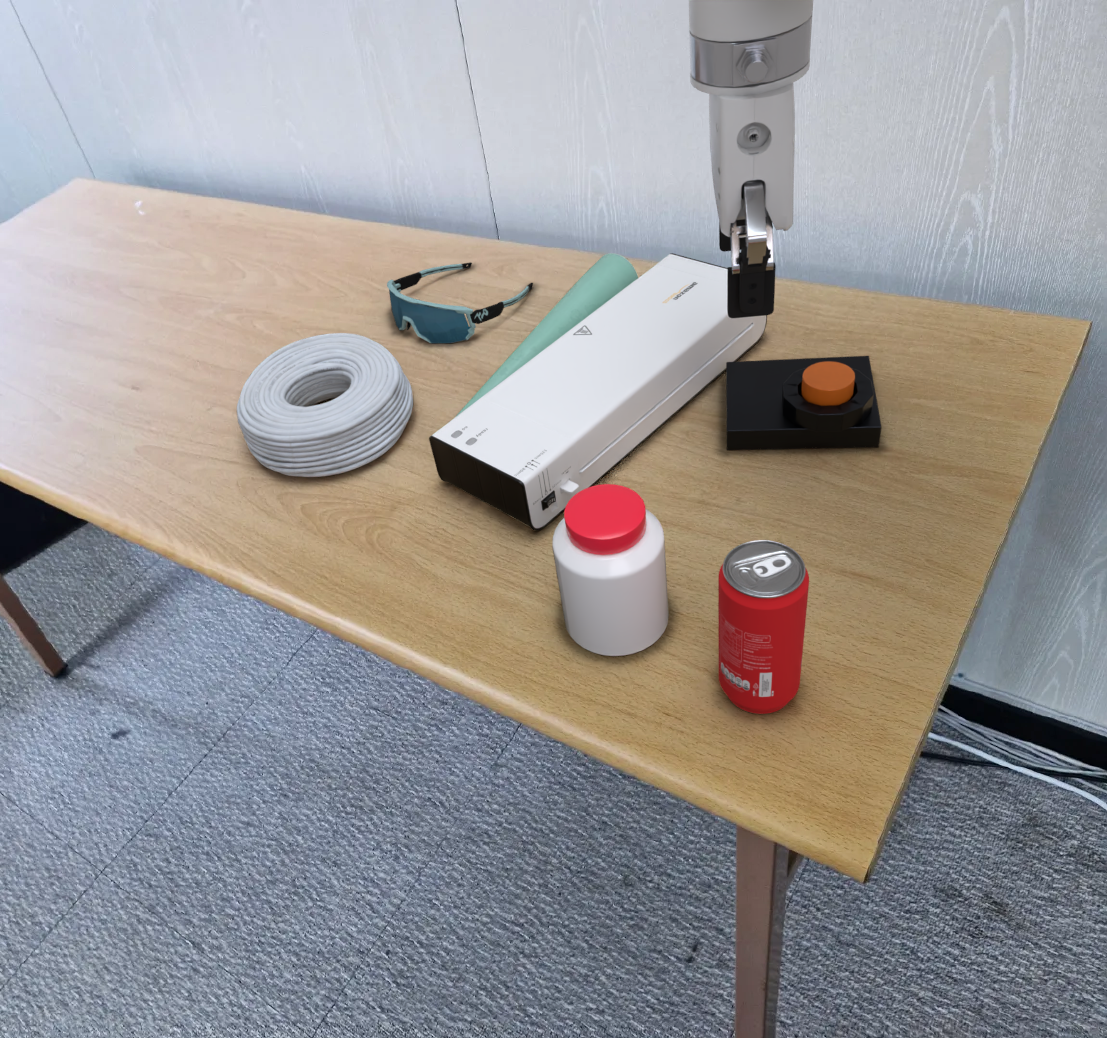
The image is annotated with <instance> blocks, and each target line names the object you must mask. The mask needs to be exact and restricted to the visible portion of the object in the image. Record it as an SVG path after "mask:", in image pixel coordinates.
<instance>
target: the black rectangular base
mask: <svg viewBox="0 0 1107 1038" xmlns="http://www.w3.org/2000/svg"><path fill="white" fill-rule="evenodd" d="M827 361H831V362H839V363H842V364H845V365H847V366H849V367H850V368H851V369H852V370H853V371H854V373H855V382H854V390H853V395H852V397H851V399H850V400H849V401H847V402H845V403H843V404H840V405H833V406H820V405H817V404H813V403H810V402H807V401H806V400H805V399H804V398H803V396H802V393H801V390H802V376H803V372H804V371H805V369H806V368H808V367H809V366H811V365H813V364H816V363H819V362H827ZM725 405H726V406H725V407H726V408H725V411H726V413H725V414H726V415H725V418H726V419H725V420H726V421H725V423H726V425H725V428H726V430H725V431H726V433H725V434H726V439H725V440H726V441H725V442H726V443H725V444H726V451H754V450H755V451H758V450H761V451H762V450H805V449H806V450H810V449H811V450H812V449H814V450H815V449H858V448H859V449H862V448H863V449H864V448H865V449H866V448H879V447H880V441H881V433H882V422H881V417H880V411H879V405H878V399H877V393H876V388H875V383H874V377H873V371H872V364H871V359H870V356H869V355H850V356H849V355H848V356H832V357H831V356H830V357H829V356H828V357H805V358H787V359H786V358H785V359H765V360H764V359H762V360H743V361H742V360H741V361H740V360H739V361H738V360H737V361H736V362H727V363H726V370H725Z"/></svg>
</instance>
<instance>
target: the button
mask: <svg viewBox="0 0 1107 1038" xmlns="http://www.w3.org/2000/svg"><path fill="white" fill-rule="evenodd" d="M854 382H855V373H854V371H853V370H852V369H851V368H850V367H849V366H847V365H845V364H842V363H839V362H831V361H827V362H819V363H816V364H813V365H811V366H809V367H808V368H806V369H805V371H804V372H803V376H802V390H801V393H802V396H803V398H804V399H805V400H806V401H807V402H810V403H813V404H817V405H820V406H833V405H840V404H843V403H845V402H847V401H849V400H850V399H851V397H852V395H853V390H854Z"/></svg>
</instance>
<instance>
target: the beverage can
mask: <svg viewBox="0 0 1107 1038" xmlns="http://www.w3.org/2000/svg"><path fill="white" fill-rule="evenodd" d="M717 582H718V586H717V587H718V596H717V597H718V598H717V601H718V605H717V606H718V632H717V633H718V637H717V638H718V639H717V640H718V641H717V642H718V653H717V654H718V661H717V662H718V670H717V671H718V682H719V685H720V688H721V689H722V691H723V692H724V694H725V695H726V696H727V699H728V700H729V701H730V702H731V703H732V705H734V706H735V707H736V708H738V709H740V710H741V711H743V712H745V713H749V714H753V715H770V714H774V713H777V712H779V711H781V710H783V709H784V708H786V706H788V704H789V703H790V701H791V700H793V699H794V698H795V697H796V695H797V693H798V691H799V689H800V684H801V677H802V675H801V674H802V664H803V655H804V654H803V652H804V645H805V644H804V642H805V633H806V620H807V612H808V611H807V609H808V599H809V587H810V576H809V572H808V570H807V567H806V564H805V561H804V559H803V558H802V556H801V555H800V554H799V553H798V552H797V550H795V549H794V548H792V547H791V546H789V545H787V544H784V543H782V542H779V541H775V540H770V539H756V540H755V539H754V540H750V541H746V542H743V543H740V544H738V545H736V546H735V547H734V548H733V547H732V548H731V550H730V551H729V552H728V553H727V554H726V555H725V557H724V560H723V562H722V564H721V565H720V568H719V571H718V581H717Z"/></svg>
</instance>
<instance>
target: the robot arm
mask: <svg viewBox="0 0 1107 1038" xmlns="http://www.w3.org/2000/svg"><path fill="white" fill-rule="evenodd" d="M813 12H814V0H688V23H689V25H688V28H689V29H688V30H689V31H688V32H689V70H690V72H689V80H690V84H691V86H692V87H693V88H695V89H696V90H697V91H700V92H701V93H705V94H708V117H709V118H708V119H709V121H708V123H709V148H710V149H709V151H710V163H711V164H710V166H711V176H712V184H713V192H714V200H715V204H716V211H717V217H718V247H719V250H720V251H721V252H730V259H731V260H730V262H731V266H727V268H728V273H727V312H728V316H729V317H730V318H743V317H754V316H765V315H767V316H770V315H772V314H773V313H774V311H775V294H776V293H775V291H776V290H775V289H776V269H777V268H776V267H777V265H776V262H775V261H774V260H775V259H774V234H773V232H774V231H773V229H775V231H780V230H781V231H783V232H787V231H789V230H790V229H791V228H792V227H793V225H794V194H795V193H794V190H795V189H794V187H795V186H794V183H795V182H794V181H795V146H796V145H795V142H796V141H795V139H796V138H795V135H796V132H795V131H796V121H795V120H796V110H795V88H794V83H795V82H797V81H799V80H800V79H802V78H803V77H804V76H805V75H806V74H807V72H808V71H809V69H810V65H811V46H812V45H811V44H812V28H813Z"/></svg>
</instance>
